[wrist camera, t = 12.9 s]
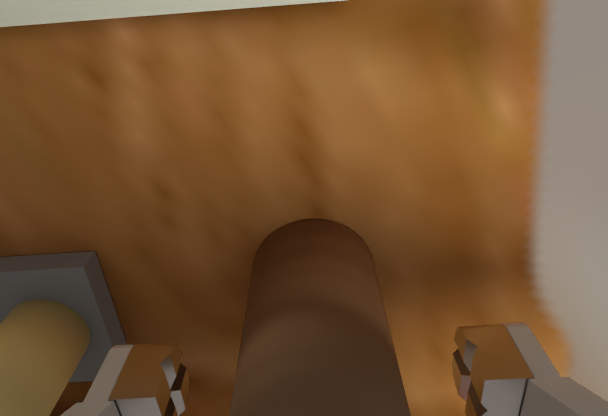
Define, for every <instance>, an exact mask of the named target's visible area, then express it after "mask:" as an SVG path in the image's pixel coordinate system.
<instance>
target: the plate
mask: <svg viewBox="0 0 608 416" xmlns="http://www.w3.org/2000/svg"><path fill="white" fill-rule="evenodd" d="M114 345H127V342H126V339H125V337H124V334H123V331H122V328H121V325H120V322H119V319H118V316H117V313H116V310H115V307H114V304H113V301H112V299H111V296H110V293H109V290H108V287H107V284H106V281H105V278H104V275H103V272H102V269H101V266H100V263H99V261H98V258H97V255H96V252H95V251H89V252H73V253H57V254H42V255H26V256H10V257H0V416H50V414H51V412H52V410H53V408H54V407H55V405H56V403H57V401H58V400H59V398H60V396H61V394H62V392H63V391H64V389H65V387H66V385H67V384H68V382H85V381H94V379H95V377H96V375H97V373H98V372H99V370H100V368H101V366H102V364H103V362H104V360H105V358H106V356H107V354H108V352H109V350H110V349H111V348H112V347H113V346H114Z"/></svg>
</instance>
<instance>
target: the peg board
mask: <svg viewBox="0 0 608 416" xmlns="http://www.w3.org/2000/svg"><path fill="white" fill-rule="evenodd" d="M331 1H344V0H0V27H9V26H22V25H35V24H48V23H61V22H74V21H87V20H100V19H112V18H125V17H138V16H151V15H164V14H177V13H190V12H203V11H216V10H228V9H241V8H254V7H267V6H280V5H293V4H306V3H319V2H331Z"/></svg>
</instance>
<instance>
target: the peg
mask: <svg viewBox="0 0 608 416" xmlns="http://www.w3.org/2000/svg"><path fill="white" fill-rule="evenodd" d="M229 416H411V415H410V411H409V407H408V403H407V399H406V395H405V391H404V387H403V382H402V378H401V374H400V370H399V366H398V362H397V358H396V354H395V350H394V346H393V342H392V337H391V333H390V329H389V325H388V321H387V317H386V313H385V309H384V305H383V301H382V297H381V292H380V288H379V284H378V280H377V276H376V272H375V268H374V264H373V260H372V256H371V253H370V250H369V248H368V246H367V245H366V243H365V242H364V241H363V239H362V238H361V237H360V236H359V235H358V234H357V233H355V232H354V231H353V230H351V229H350V228H348V227H346V226H344V225H342V224H339V223H337V222H334V221H329V220H323V219H305V220H299V221H295V222H291V223H289V224H286V225H284V226H282V227H280V228H278V229H277V230H275V231H274V232H272V233H271V234H270V235H269V236H268V237H267V238H266V239H265V240H264V241H263V243H262V244H261V245H260V247H259V249H258V251H257V253H256V256H255V260H254V264H253V271H252V277H251V283H250V289H249V295H248V302H247V308H246V314H245V320H244V326H243V332H242V339H241V345H240V351H239V357H238V363H237V370H236V376H235V382H234V388H233V394H232V400H231V407H230V413H229Z"/></svg>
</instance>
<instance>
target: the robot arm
mask: <svg viewBox="0 0 608 416" xmlns="http://www.w3.org/2000/svg"><path fill="white" fill-rule="evenodd" d="M455 342H456V344H457V347H458V349H457V350H456V351H455V352H454V353H453V359H452V369H453V378H454V382H455V386H456V388H457V391H458V394H459V396H461V397H462V398H463V399H464V400H466V409H465V413H466V416H608V402H607V401H605V400H604V399H602V398H601V397H599V396H597V395H596V394H594V393H593V392H591V391H590V390H588V389H586V388H585V387H583V386H582V385H580V384H578V383H577V382H575V381H574V380H572V379H571V378H569V377H561V376H560V374H559V373H558V371H557V370H556V368H555V367H554V365H553V364H552V362H551V360H550V359H549V357H548V356H547V354H546V353H545V351H544V350H543V348H542V347H541V345H540V343H539V342H538V340H537V339H536V337H535V336H534V334H533V333H532V331H531V330H530V328H529V326H528V325H527V324H525V323H524V322H520V323H505V324H501V325H500V324H493V325H477V326H462V327H457V329H456V332H455ZM182 355H183V353H182V350H181V347H180V344H178V343H149V344H134V345H114V346H113V347H112V348H111V349H110V350H109V352H108V354H107V356H106V358H105V360H104V362H103V364H102V366H101V368H100V370H99V372H98V373H97V375H96V377H95V379H94V381H93V383H92V385H91V387H90V389H89V391H88V393H87V395H86V397H85V399H84V401H83V402H81V403H75V404H74V405H73V406H72V407H70V408H69V409H68V410H67V411H65V412H64V413H63V414H62V415H60V416H179V415H180V414H181V413H182V412H183V411H184V410H185V409H186V405H187V401H188V395H189V377H188V372H187V368H186V367H184V366H183V365H182V364H181V363H180V362H181V359H182Z"/></svg>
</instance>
